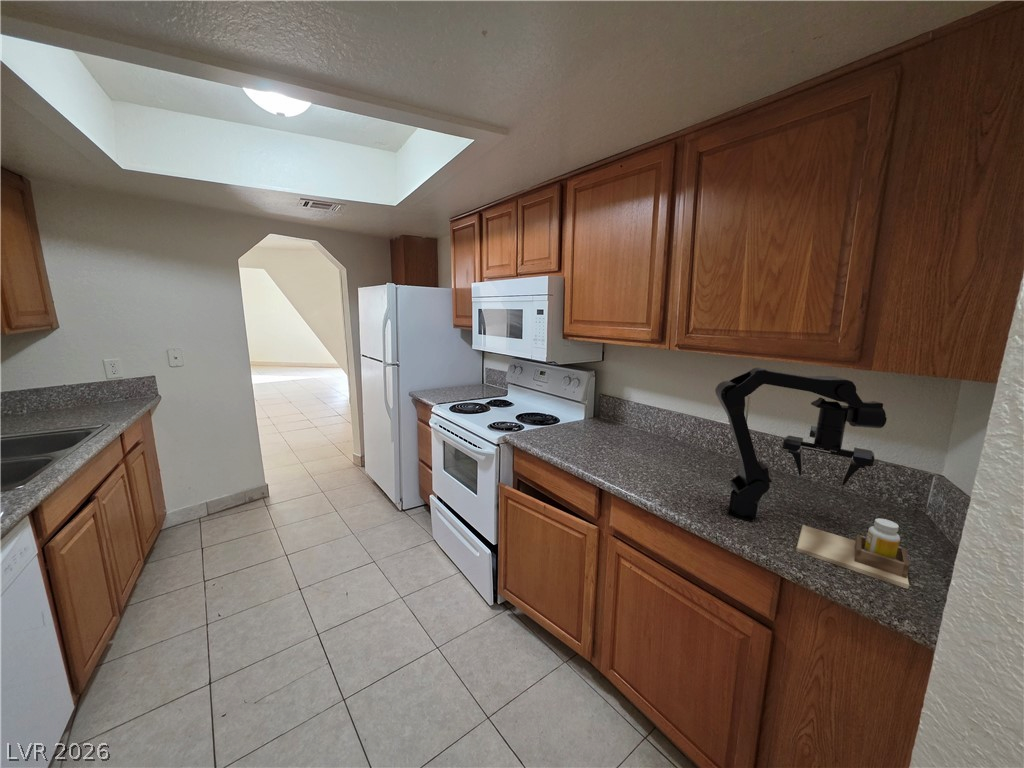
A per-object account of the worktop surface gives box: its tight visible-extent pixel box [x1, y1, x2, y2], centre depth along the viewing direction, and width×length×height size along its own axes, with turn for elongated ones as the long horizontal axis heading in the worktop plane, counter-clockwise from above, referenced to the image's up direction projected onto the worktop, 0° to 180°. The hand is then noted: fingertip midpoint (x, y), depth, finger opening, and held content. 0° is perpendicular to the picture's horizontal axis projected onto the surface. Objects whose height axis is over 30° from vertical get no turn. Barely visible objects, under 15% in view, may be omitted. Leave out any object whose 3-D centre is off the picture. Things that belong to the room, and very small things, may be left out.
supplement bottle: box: [864, 518, 901, 560], centre depth 90 cm, size 5×5×10 cm
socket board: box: [795, 524, 910, 590], centre depth 94 cm, size 20×14×4 cm
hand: (821, 479), depth 106 cm, fingers open, 9 cm apart
